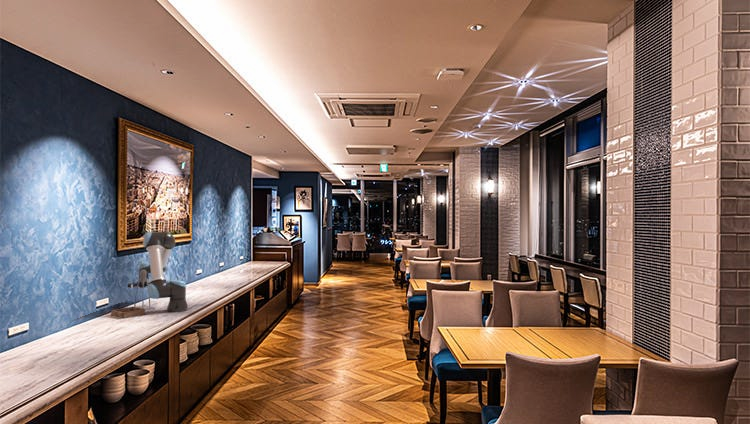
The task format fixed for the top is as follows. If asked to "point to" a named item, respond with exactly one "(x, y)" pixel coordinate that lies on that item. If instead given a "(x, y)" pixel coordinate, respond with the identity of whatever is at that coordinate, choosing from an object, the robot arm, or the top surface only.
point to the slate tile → (146, 307)
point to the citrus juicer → (142, 280)
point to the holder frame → (128, 312)
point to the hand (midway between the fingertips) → (141, 286)
